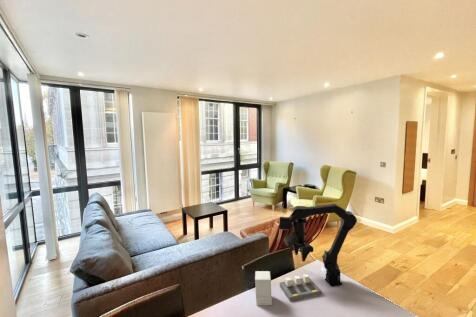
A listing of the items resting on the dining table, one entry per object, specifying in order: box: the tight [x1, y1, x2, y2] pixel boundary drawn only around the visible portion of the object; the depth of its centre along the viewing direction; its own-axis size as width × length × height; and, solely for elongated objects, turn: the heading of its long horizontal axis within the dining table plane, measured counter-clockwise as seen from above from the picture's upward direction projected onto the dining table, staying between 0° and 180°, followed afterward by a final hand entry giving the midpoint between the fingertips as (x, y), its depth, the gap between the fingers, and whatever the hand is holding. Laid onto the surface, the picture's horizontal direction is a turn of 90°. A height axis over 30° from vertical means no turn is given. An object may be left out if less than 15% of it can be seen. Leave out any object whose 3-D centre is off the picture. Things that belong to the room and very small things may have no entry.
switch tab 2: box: [293, 275, 301, 285], centre depth 119 cm, size 2×2×3 cm
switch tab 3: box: [302, 273, 310, 283], centre depth 120 cm, size 2×2×3 cm
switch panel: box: [278, 277, 323, 302], centre depth 117 cm, size 17×12×2 cm
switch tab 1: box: [284, 276, 293, 287], centre depth 118 cm, size 2×2×3 cm
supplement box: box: [254, 270, 273, 306], centre depth 110 cm, size 7×7×13 cm
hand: (299, 258), depth 125 cm, fingers open, 7 cm apart
